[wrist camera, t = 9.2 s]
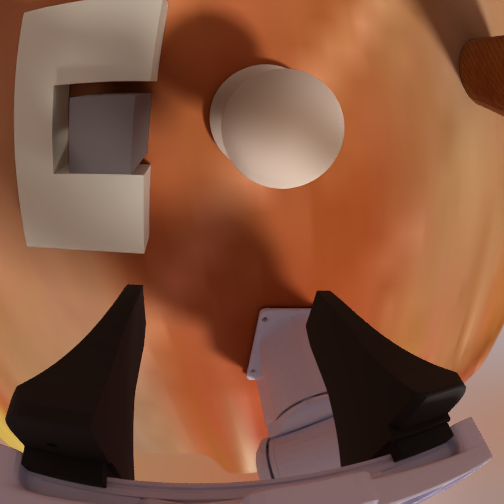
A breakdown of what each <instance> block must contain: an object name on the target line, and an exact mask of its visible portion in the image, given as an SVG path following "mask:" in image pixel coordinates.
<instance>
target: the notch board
mask: <svg viewBox="0 0 504 504" xmlns="http://www.w3.org/2000/svg"><path fill="white" fill-rule="evenodd" d="M168 6H169V5H168V3H167V1H166V0H83V1H77V2H70V3H65V4H59V5H54V6H49V7H45V8H40V9H36V10H32V11H28V12H24V15H23V20H22V26H21V32H20V39H19V46H18V54H17V64H16V75H15V92H14V146H15V163H16V175H17V185H18V194H19V202H20V209H21V216H22V222H23V228H24V233H25V239H26V244H27V247H41V248H56V249H73V250H89V251H106V252H123V253H141V254H144V252H145V249H146V246H147V242H148V239H149V209H150V170H151V164H139V165H138V166H137V167H136V168H135V170H134V171H133V172H132V174H97V173H69V163H68V107H69V89H70V84H78V83H93V82H116V81H157V79H158V71H159V63H160V55H161V48H162V41H163V35H164V28H165V22H166V17H167V11H168Z"/></svg>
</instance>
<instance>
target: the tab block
mask: <svg viewBox="0 0 504 504" xmlns="http://www.w3.org/2000/svg"><path fill="white" fill-rule="evenodd" d="M151 99H152V93H138V92H128V93H97V94H90V95H84V96H77V97H71V98H70V104H69V173H97V174H132V172H133V171H134V170H135V168H136V167H137V166H138V165H139V163H140V162H141V161H142V159H143V158H144V157H145V156H146V154H147V153H148V136H149V122H150V110H151Z"/></svg>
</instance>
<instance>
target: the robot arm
mask: <svg viewBox="0 0 504 504" xmlns="http://www.w3.org/2000/svg"><path fill="white" fill-rule="evenodd" d="M265 317H266V318H265ZM263 318H265V319H263ZM145 327H146V319H145V308H144V296H143V285H130V284H128V285H127V286H126V287H125V288H124V290H123V291H122V293H121V294H120V295H119V297H118V298H117V300H116V301H115V302H114V304H113V305H112V306H111V308H110V309H109V310H108V311H107V313H106V314H105V315H104V317H103V318H102V319H101V320H100V321H99V322H98V324H97V325H96V326H95V327H94V328H93V329H92V330H91V332H90V333H89V334H88V335H87V336H86V337H85V338H84V339H83V340H82V341H81V342H80V343H79V344H78V345H77V346H76V347H74V348H73V349H72V350H71V351H70V352H69V353H68V354H66V355H65V356H64V357H63V358H62V359H60V360H59V361H58V362H56V363H55V364H54V365H52V366H51V367H49V368H48V369H46V370H45V371H43V372H42V373H40V374H39V375H37V376H35V377H33V378H32V379H30V380H28V381H26V382H24V383H22V384H21V385H19V386H17V387H16V389H15V392H14V394H13V396H12V399H11V402H10V405H9V408H8V411H7V415H6V418H5V420H6V424H7V425H8V427H9V428H10V430H11V431H12V432H13V433H14V435H15V436H16V437H17V438H18V439H19V440H20V441H21V442H22V443H23V444H24V446H25V447H24V452H23V453H22V452H20V451H18V450H16V449H14V448H11V447H8V446H5V445H2V444H0V504H418V503H420V502H422V501H424V500H426V499H428V498H430V497H432V496H434V495H436V494H438V493H440V492H442V491H443V490H446V489H447V488H449V487H451V486H453V485H455V484H457V483H458V482H460V481H461V480H463V479H464V478H466V477H467V476H469V475H470V474H472V473H473V472H474V471H476V470H477V469H479V468H480V467H481V466H483V465H484V464H485V463H486V462H488V461H489V460H491V459H492V457H493V456H492V454H491V452H490V450H489V448H488V446H487V444H486V443H485V441H484V439H483V437H482V435H481V433H480V431H479V430H478V428H477V426H476V425H475V423H474V421H473V419H472V418H471V417H469V418H467V419H465V420H463V421H460V422H458V423H456V424H454V425H453V426H451V427H449V425H448V423H447V422H449V421H450V417H449V415H448V412H449V411H450V410H451V409H452V408H453V407H454V406H455V405H456V404H457V403H458V402H459V400H460V399H461V398H462V397H463V395H464V393H465V390H466V387H465V385H464V383H463V381H462V380H461V378H460V377H459V375H458V374H457V373H456V372H453V371H450V370H448V369H445V368H442V367H439V366H436V365H434V364H432V363H429V362H427V361H425V360H423V359H421V358H419V357H417V356H415V355H413V354H411V353H409V352H408V351H406V350H404V349H402V348H401V347H399V346H398V345H396V344H395V343H393V342H392V341H390V340H389V339H387V338H386V337H384V336H383V335H382V334H380V333H379V332H378V331H376V330H375V329H374V328H373V327H371V326H370V325H369V324H368V323H366V322H365V321H364V320H363V319H362V318H361V317H359V316H358V315H357V314H356V313H355V312H354V311H353V310H352V309H350V308H349V307H348V306H347V305H346V304H345V303H344V302H343V301H341V300H340V299H339V298H338V297H337V296H336V295H335V294H333V293H332V292H331V291H317V293H316V296H315V299H314V302H313V305H312V308H264V309H262V310H261V311H260V312H259V317H258V322H257V327H256V332H255V336H254V341H253V346H252V351H251V355H250V360H249V365H248V369H247V374H246V376H247V379H249V380H257V384H258V389H259V395H260V400H261V405H262V410H263V415H264V420H265V424H266V426H267V429H268V434H269V437H267V438H264V439H262V440H261V442H260V444H259V448H258V450H257V453H256V466H257V472H258V475H259V479H260V480H259V481H247V482H233V483H203V484H202V483H199V484H198V483H197V484H196V483H195V484H194V483H191V484H190V483H161V482H146V481H135V480H134V461H133V418H134V398H135V390H136V384H137V379H138V373H139V368H140V363H141V358H142V352H143V347H144V339H145ZM253 369H254V370H253Z"/></svg>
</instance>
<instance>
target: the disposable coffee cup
mask: <svg viewBox="0 0 504 504" xmlns="http://www.w3.org/2000/svg"><path fill="white" fill-rule="evenodd" d="M460 73H461V78H462V82H463V85H464V88H465V90H466V92H467V93H468V95H469V97H470V98H471V99H472V100H473V101H474V102H475V103H477V104H478V105H480V106H483V107H485V108H487V109H489V110H492V111H493V112H496V113H498V114H500V115H502V116H504V35H503V36H494V37H486V38H479V39H472V40H470V41H468V42H467V43H466V44H465V46H464V47H463V49H462V52H461V56H460Z"/></svg>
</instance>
